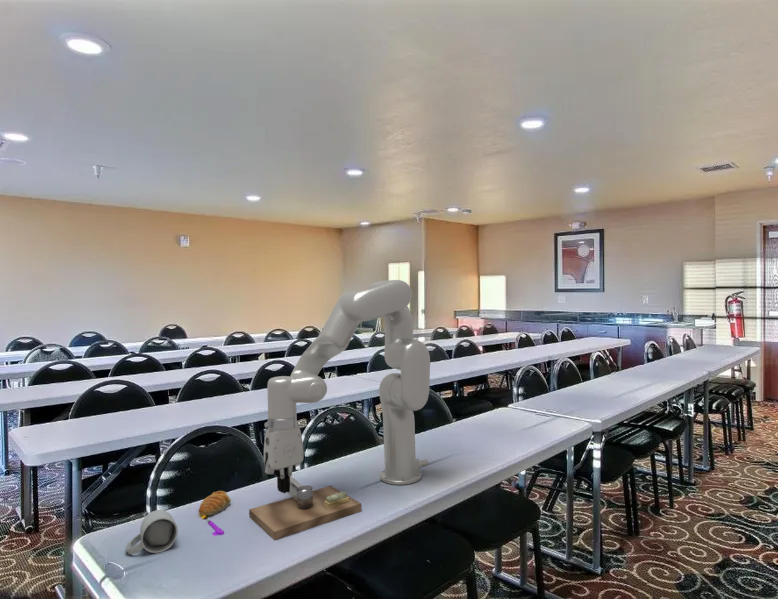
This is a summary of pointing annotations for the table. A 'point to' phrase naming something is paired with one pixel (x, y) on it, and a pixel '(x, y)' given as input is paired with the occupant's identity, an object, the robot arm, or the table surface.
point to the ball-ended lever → (301, 494)
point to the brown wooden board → (303, 512)
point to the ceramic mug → (154, 533)
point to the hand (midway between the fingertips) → (283, 491)
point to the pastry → (214, 503)
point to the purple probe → (213, 526)
